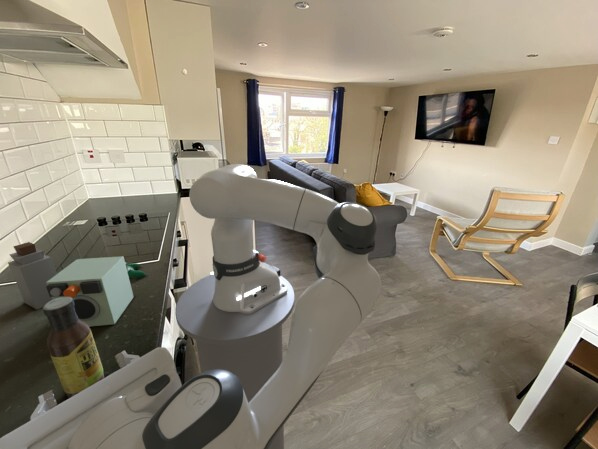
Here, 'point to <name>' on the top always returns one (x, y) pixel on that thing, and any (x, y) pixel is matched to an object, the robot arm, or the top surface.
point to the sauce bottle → (72, 347)
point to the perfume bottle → (32, 273)
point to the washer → (95, 288)
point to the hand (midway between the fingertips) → (86, 374)
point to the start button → (71, 291)
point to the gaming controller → (132, 271)
